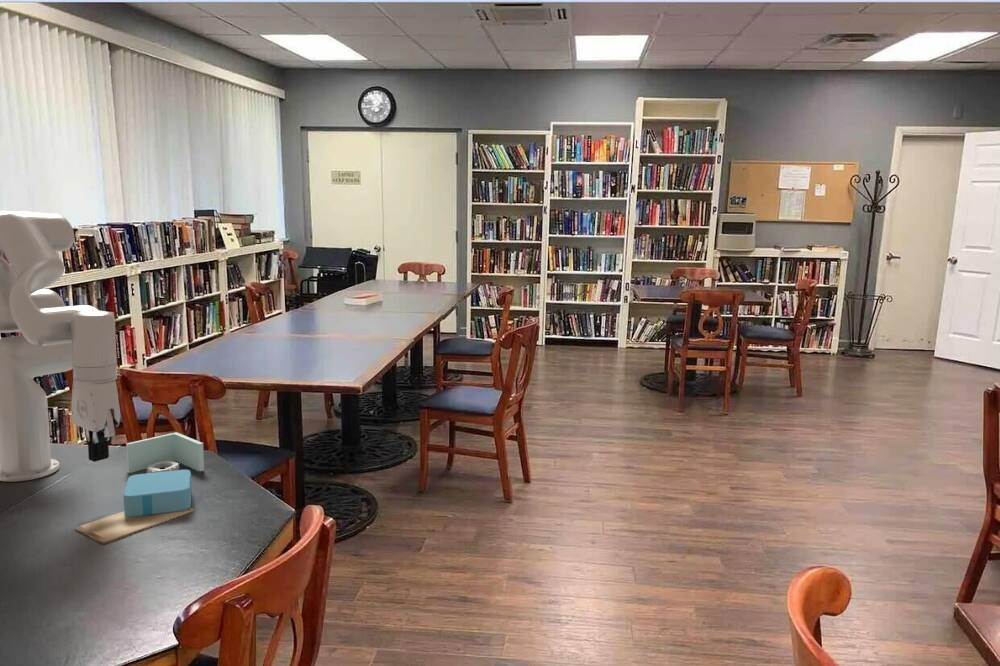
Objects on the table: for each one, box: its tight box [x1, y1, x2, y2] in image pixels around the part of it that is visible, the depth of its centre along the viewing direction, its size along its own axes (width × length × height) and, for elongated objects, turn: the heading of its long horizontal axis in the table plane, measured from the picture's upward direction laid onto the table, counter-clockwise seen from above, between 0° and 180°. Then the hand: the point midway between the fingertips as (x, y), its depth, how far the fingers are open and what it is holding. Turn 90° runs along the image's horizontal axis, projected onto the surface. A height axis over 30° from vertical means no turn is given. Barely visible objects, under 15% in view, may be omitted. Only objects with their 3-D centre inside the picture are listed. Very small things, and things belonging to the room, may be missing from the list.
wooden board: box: [74, 507, 194, 545], centre depth 131 cm, size 10×18×1 cm, turn 148°
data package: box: [122, 469, 192, 517], centre depth 138 cm, size 12×4×12 cm
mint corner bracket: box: [125, 431, 205, 474], centre depth 156 cm, size 12×12×8 cm
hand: (98, 458), depth 136 cm, fingers closed
